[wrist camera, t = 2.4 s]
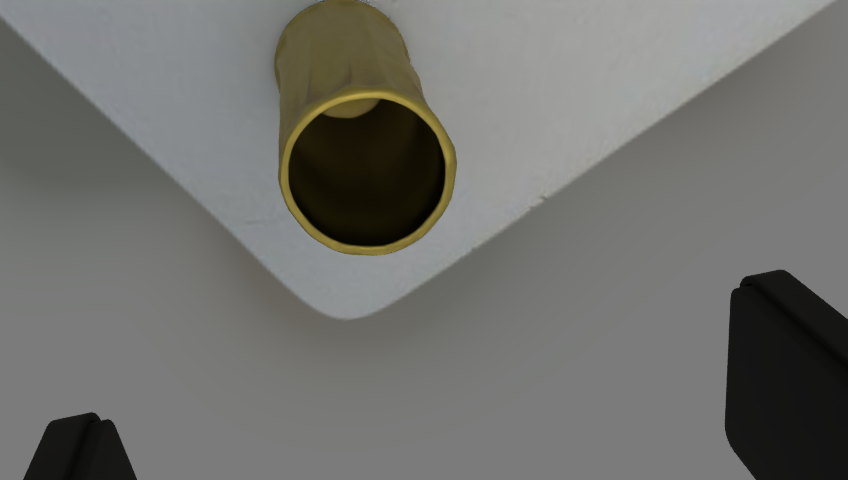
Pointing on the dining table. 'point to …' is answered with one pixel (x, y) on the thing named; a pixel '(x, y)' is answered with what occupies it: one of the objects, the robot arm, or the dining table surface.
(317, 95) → the vase
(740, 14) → the dining table surface
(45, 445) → the robot arm
